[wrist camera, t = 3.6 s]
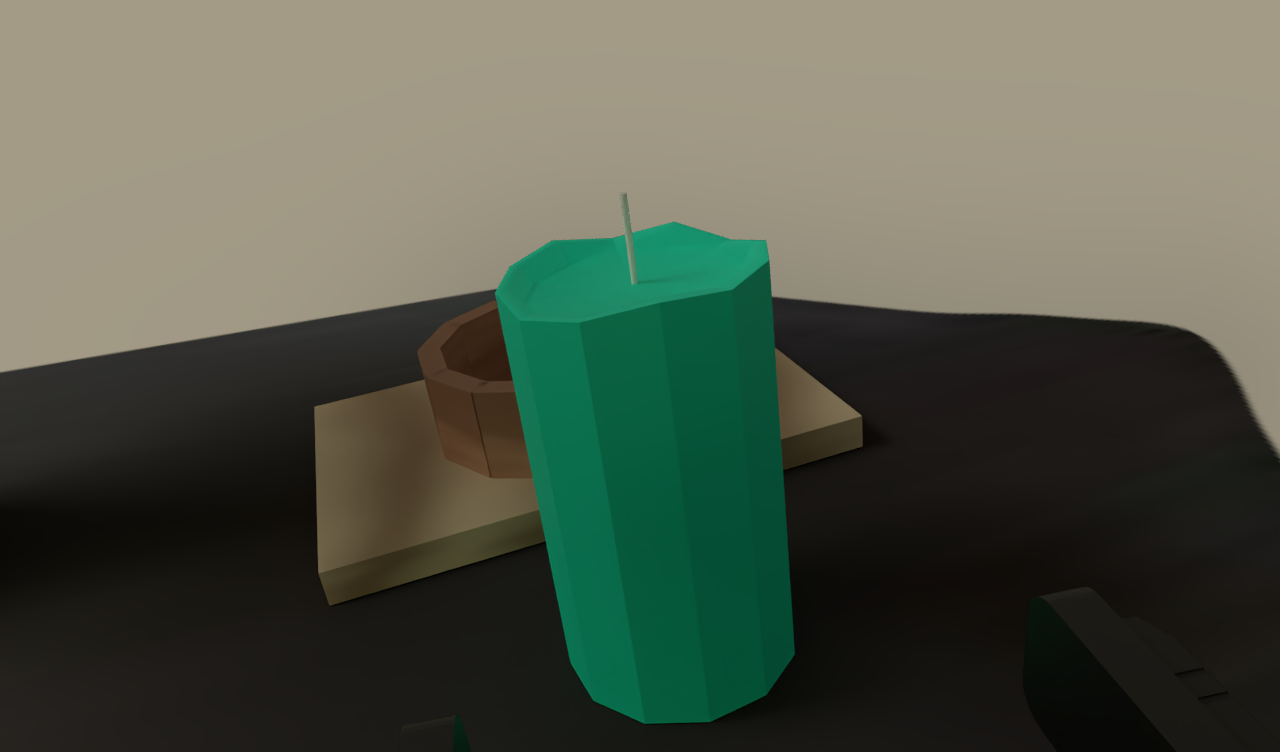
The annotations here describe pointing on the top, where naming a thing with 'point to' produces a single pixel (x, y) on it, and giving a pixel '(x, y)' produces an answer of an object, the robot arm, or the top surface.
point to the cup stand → (472, 461)
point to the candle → (657, 463)
